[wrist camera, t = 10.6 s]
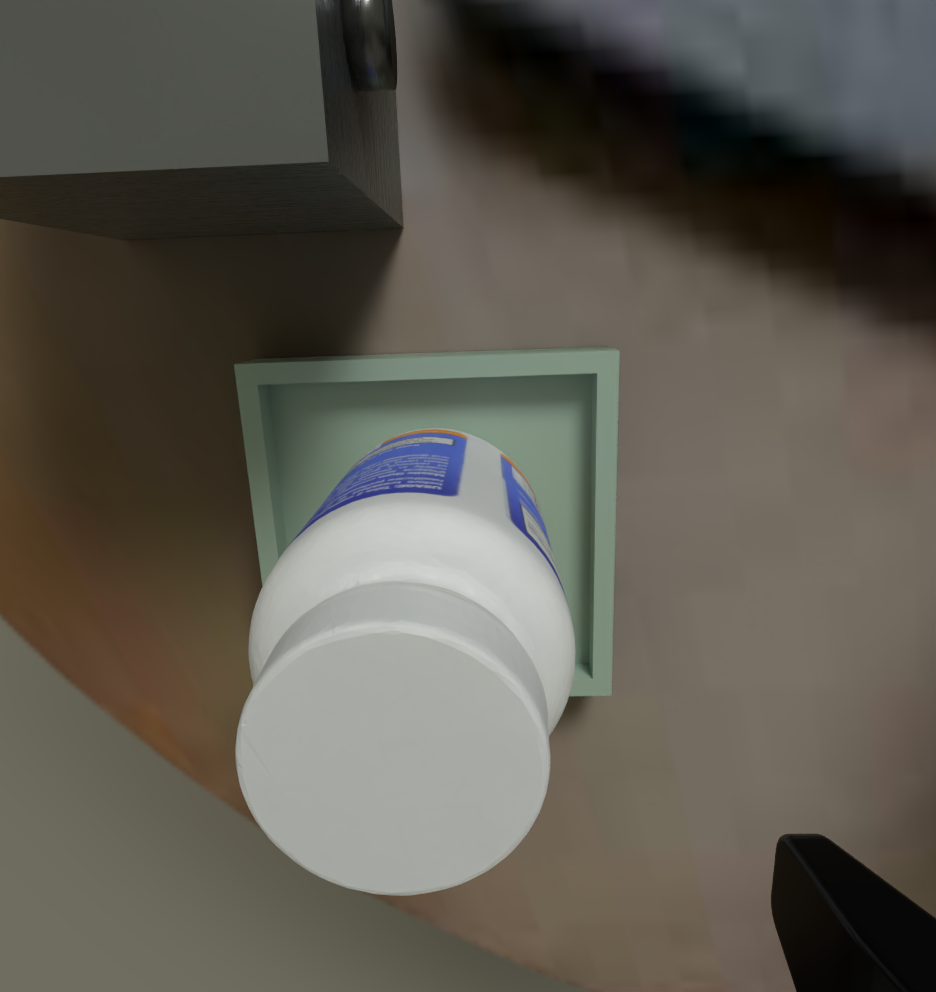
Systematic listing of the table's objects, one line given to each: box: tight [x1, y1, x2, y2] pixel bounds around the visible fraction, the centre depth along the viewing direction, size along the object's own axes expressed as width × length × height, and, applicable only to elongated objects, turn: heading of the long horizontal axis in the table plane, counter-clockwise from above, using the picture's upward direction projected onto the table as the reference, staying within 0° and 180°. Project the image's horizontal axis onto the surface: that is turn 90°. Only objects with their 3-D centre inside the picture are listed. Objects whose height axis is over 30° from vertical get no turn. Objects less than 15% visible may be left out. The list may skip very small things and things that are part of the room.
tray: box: [234, 346, 619, 696], centre depth 18 cm, size 9×9×2 cm
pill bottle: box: [235, 428, 576, 896], centre depth 13 cm, size 5×5×10 cm
